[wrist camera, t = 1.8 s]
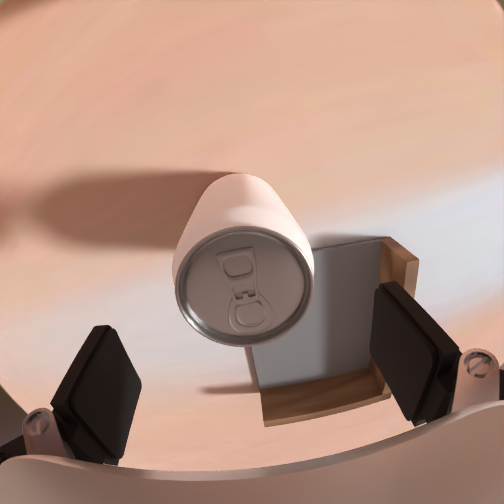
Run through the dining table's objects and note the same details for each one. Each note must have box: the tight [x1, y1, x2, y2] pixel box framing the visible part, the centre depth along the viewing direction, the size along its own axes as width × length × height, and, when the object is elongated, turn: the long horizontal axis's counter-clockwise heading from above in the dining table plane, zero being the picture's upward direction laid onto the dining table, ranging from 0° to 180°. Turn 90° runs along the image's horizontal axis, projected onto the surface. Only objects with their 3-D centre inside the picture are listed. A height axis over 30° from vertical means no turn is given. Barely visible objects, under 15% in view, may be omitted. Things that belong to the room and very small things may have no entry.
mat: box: [251, 239, 381, 390], centre depth 27 cm, size 17×14×1 cm
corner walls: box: [260, 237, 419, 427], centre depth 25 cm, size 17×14×5 cm
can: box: [172, 173, 314, 347], centre depth 17 cm, size 6×6×12 cm
